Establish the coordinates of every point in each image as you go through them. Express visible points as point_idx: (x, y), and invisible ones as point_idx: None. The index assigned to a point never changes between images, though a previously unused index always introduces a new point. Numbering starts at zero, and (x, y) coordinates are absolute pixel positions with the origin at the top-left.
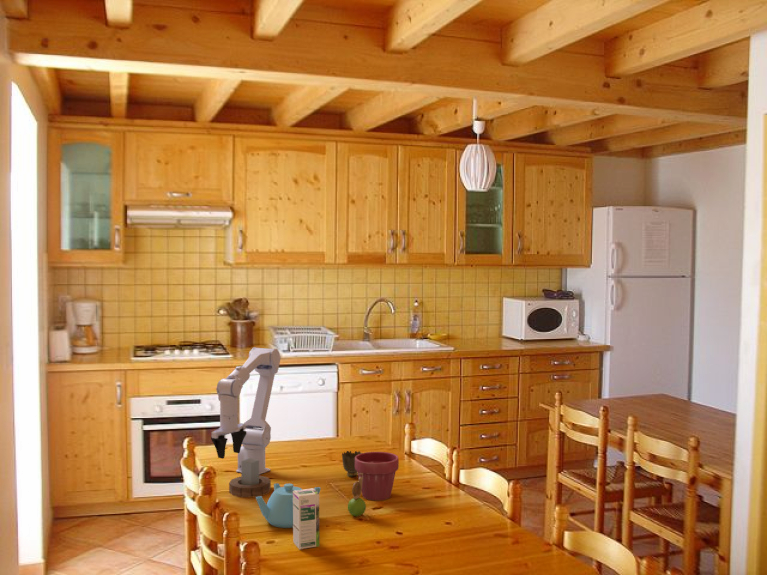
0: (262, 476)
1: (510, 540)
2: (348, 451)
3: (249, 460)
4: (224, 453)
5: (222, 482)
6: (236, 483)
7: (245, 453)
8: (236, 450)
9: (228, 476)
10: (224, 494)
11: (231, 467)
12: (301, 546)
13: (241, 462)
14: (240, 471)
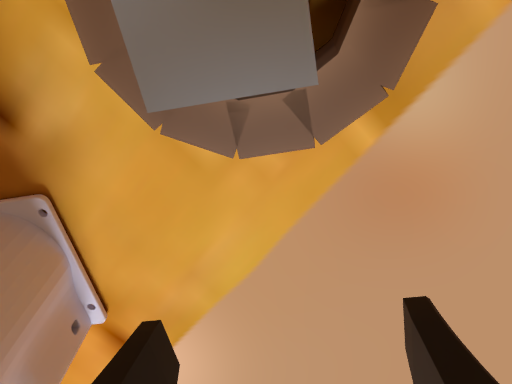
0: (76, 22)
1: None
2: None
3: (213, 20)
4: (428, 335)
5: (268, 247)
6: (362, 34)
7: (10, 371)
8: (162, 360)
9: (179, 295)
10: (437, 57)
11: (89, 371)
12: None
13: (317, 79)
14: (93, 297)
